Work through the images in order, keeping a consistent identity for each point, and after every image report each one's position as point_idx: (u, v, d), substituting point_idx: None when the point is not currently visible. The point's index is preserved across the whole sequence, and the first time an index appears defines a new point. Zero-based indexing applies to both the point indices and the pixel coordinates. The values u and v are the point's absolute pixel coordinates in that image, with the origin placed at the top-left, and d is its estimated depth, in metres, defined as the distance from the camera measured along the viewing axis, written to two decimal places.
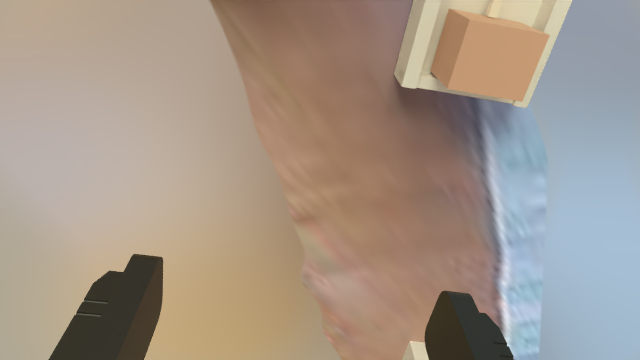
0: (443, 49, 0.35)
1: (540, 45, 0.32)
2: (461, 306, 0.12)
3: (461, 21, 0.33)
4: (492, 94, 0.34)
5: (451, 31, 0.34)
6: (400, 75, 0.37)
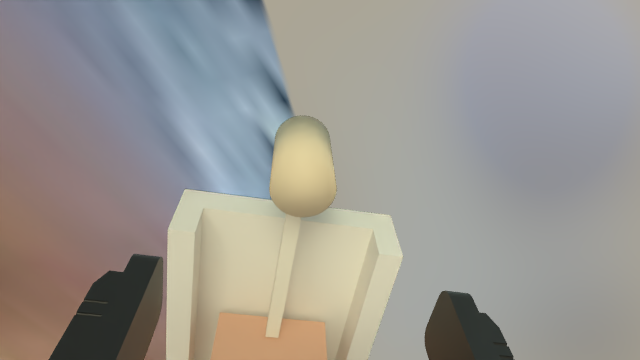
0: None
1: None
2: (461, 306, 0.12)
3: None
4: None
5: None
6: None
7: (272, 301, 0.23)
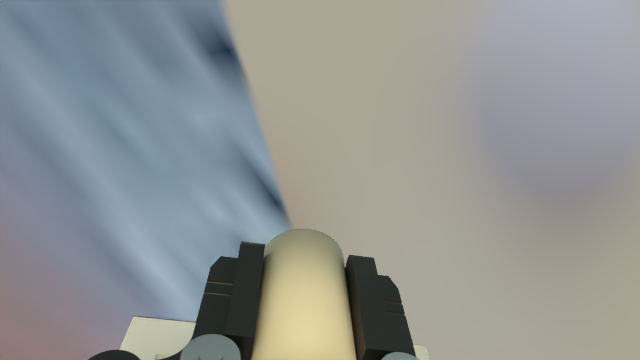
0: None
1: None
2: (361, 267, 0.13)
3: None
4: None
5: None
6: None
7: None
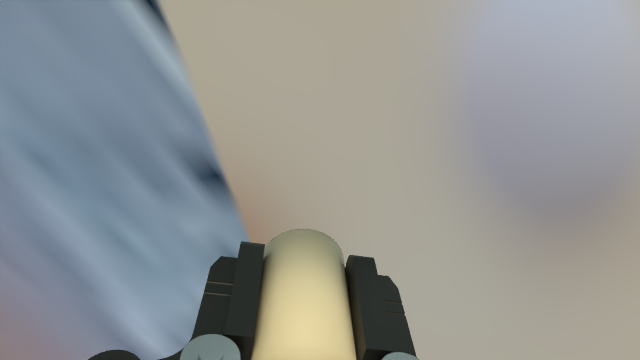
0: None
1: None
2: (361, 268, 0.13)
3: None
4: None
5: None
6: None
7: None
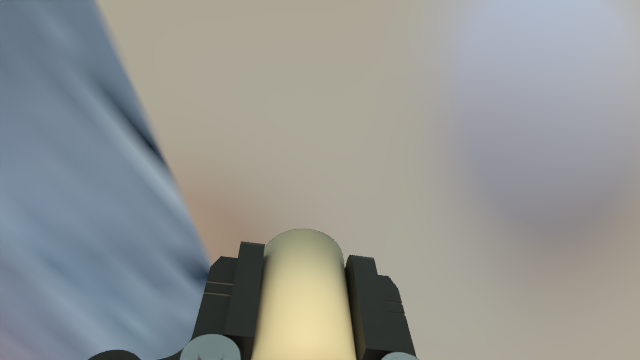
0: None
1: None
2: (361, 267, 0.13)
3: None
4: None
5: None
6: None
7: None
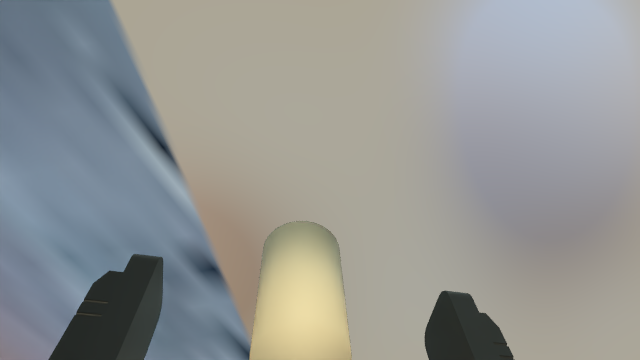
0: None
1: None
2: (461, 306, 0.12)
3: None
4: None
5: None
6: None
7: None
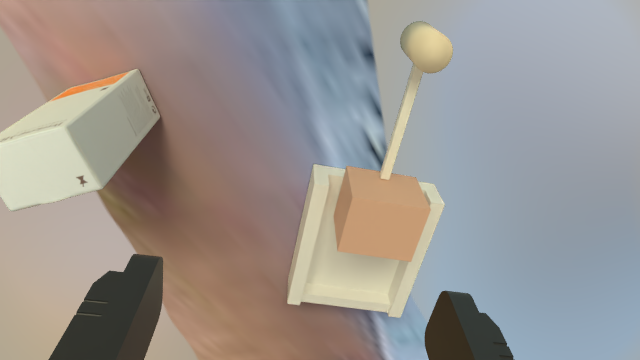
0: (340, 205, 0.37)
1: (422, 217, 0.34)
2: (461, 306, 0.12)
3: (349, 191, 0.34)
4: (381, 256, 0.35)
5: (345, 193, 0.36)
6: (288, 289, 0.43)
7: (390, 149, 0.35)
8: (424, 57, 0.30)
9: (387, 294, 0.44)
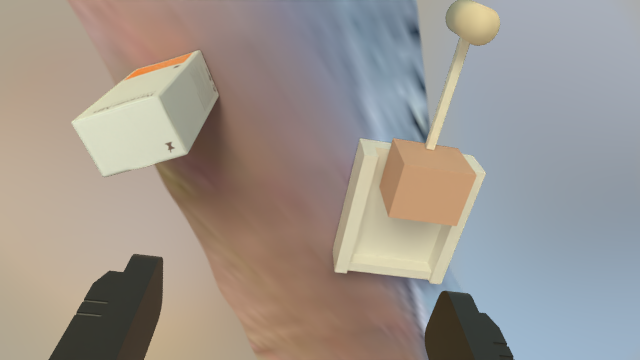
0: (387, 175, 0.39)
1: (469, 183, 0.36)
2: (461, 306, 0.12)
3: (399, 160, 0.37)
4: (429, 220, 0.38)
5: (393, 163, 0.38)
6: (335, 259, 0.45)
7: (436, 120, 0.37)
8: (473, 30, 0.32)
9: (427, 263, 0.47)
